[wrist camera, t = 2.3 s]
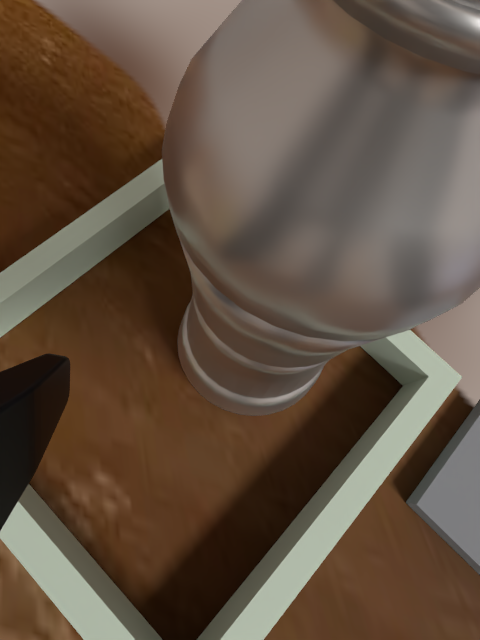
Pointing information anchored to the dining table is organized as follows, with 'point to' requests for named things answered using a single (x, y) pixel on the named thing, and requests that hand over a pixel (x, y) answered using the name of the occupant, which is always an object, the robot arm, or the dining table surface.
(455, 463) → the rubber mat
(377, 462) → the empty rectangular frame
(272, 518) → the dining table surface
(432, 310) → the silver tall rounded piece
